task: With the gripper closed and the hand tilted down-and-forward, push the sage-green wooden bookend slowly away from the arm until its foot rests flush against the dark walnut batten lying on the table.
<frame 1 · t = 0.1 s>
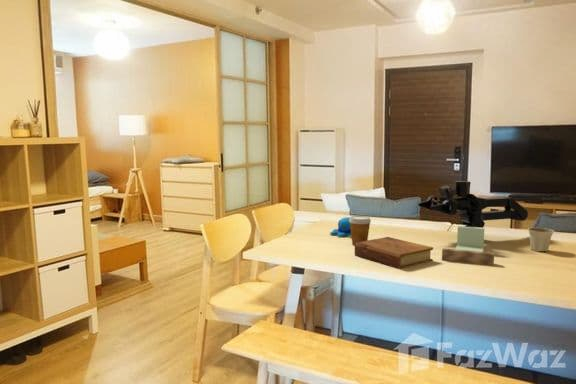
hand: (424, 206, 200), 17 cm above the table, tool horizontal, fingers open, 9 cm apart
flower pot: (539, 250, 189), on the table
board: (467, 261, 172), on the table
disposable coffee cup: (359, 245, 201), on the table
plush toy: (347, 235, 223), on the table
diary: (392, 259, 179), on the table
bookend: (469, 254, 184), on the table
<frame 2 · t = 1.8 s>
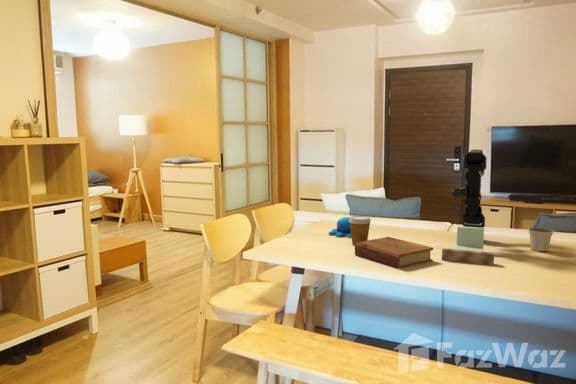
hand: (472, 218, 196), 12 cm above the table, tool pointing down, fingers open, 5 cm apart
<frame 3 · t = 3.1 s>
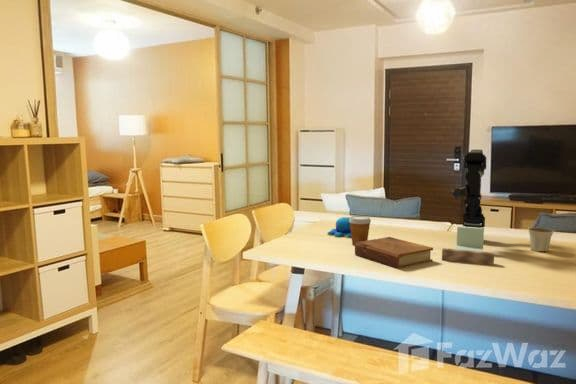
hand: (472, 218, 196), 12 cm above the table, tool pointing down, fingers closed
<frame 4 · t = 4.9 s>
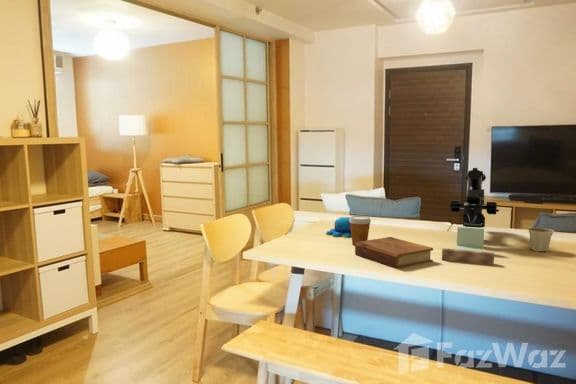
hand: (471, 222, 195), 10 cm above the table, tool tilted 45°, fingers closed
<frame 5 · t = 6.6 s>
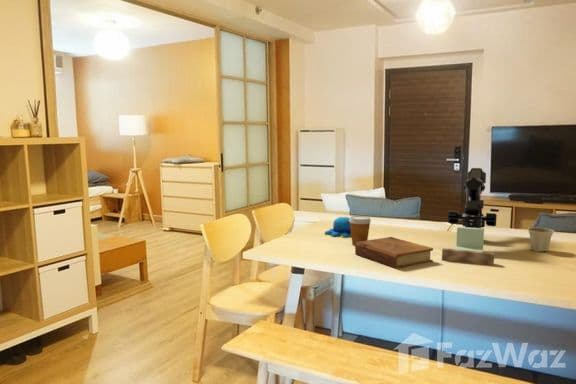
hand: (470, 235, 187), 7 cm above the table, tool tilted 45°, fingers closed, pressing on bookend
bookend: (468, 255, 182), on the table, touching gripper
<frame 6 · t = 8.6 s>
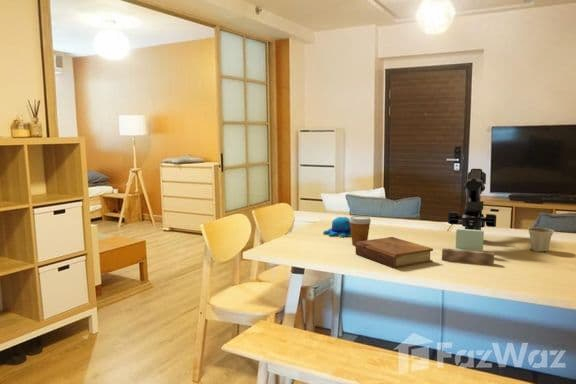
hand: (470, 236, 188), 6 cm above the table, tool tilted 45°, fingers closed
bookend: (468, 257, 179), on the table
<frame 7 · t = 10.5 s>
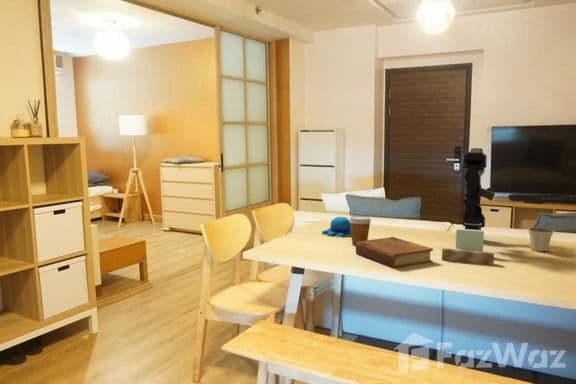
hand: (471, 218, 194), 12 cm above the table, tool pointing down, fingers closed
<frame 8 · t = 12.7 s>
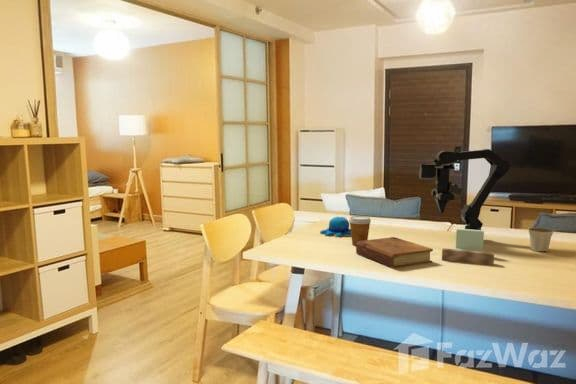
hand: (441, 213, 209), 12 cm above the table, tool pointing down, fingers closed
at the end: bookend 7.3 cm from the board (horizontally); bookend moved 5.9 cm from its start; bookend tilted 0° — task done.
